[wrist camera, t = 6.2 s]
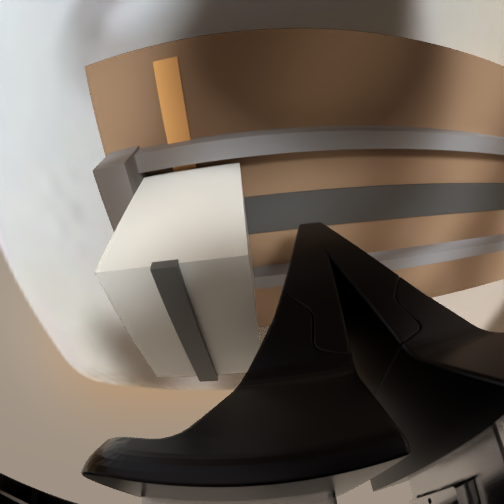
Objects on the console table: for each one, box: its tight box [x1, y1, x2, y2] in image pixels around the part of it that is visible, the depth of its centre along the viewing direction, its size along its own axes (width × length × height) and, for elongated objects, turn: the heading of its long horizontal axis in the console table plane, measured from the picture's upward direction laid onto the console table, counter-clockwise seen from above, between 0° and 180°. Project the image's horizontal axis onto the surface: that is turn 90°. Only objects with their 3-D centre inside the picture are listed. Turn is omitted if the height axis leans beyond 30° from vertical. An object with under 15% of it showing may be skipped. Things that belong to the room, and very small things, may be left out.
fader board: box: [85, 28, 504, 327], centre depth 10 cm, size 20×12×3 cm, turn 95°
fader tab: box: [95, 162, 261, 381], centre depth 8 cm, size 3×4×5 cm
